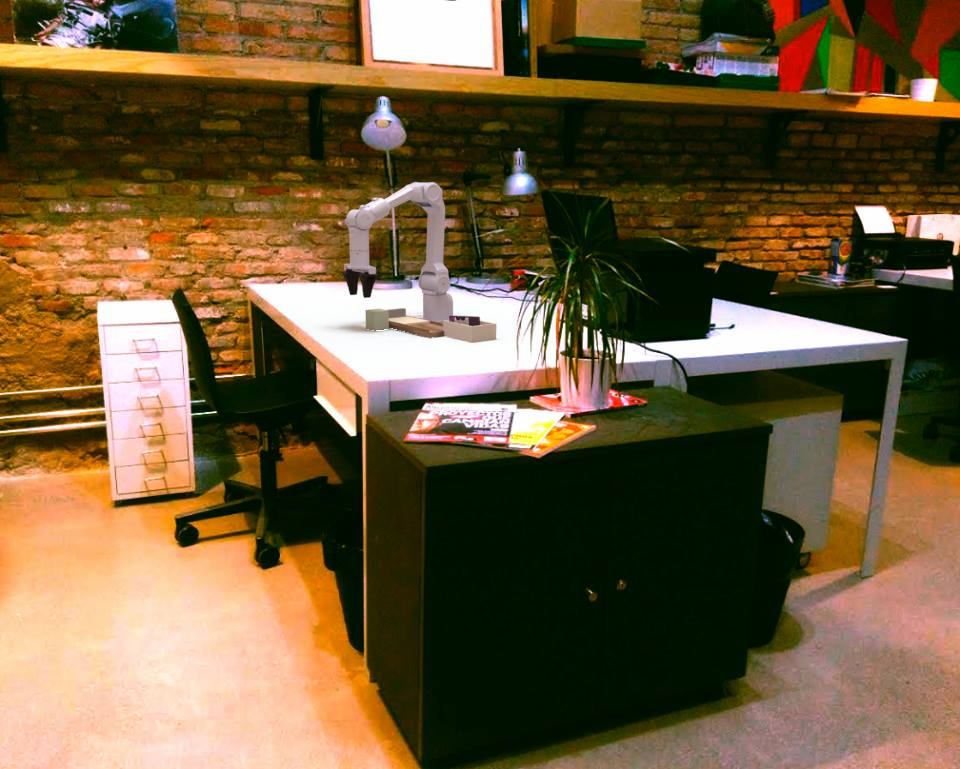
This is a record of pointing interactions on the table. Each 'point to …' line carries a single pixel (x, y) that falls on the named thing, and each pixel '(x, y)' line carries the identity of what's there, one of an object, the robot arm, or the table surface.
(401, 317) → the lid
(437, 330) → the board
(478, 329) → the beige open box
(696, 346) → the table surface
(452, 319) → the black piece
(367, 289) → the robot arm
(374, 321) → the sage block
